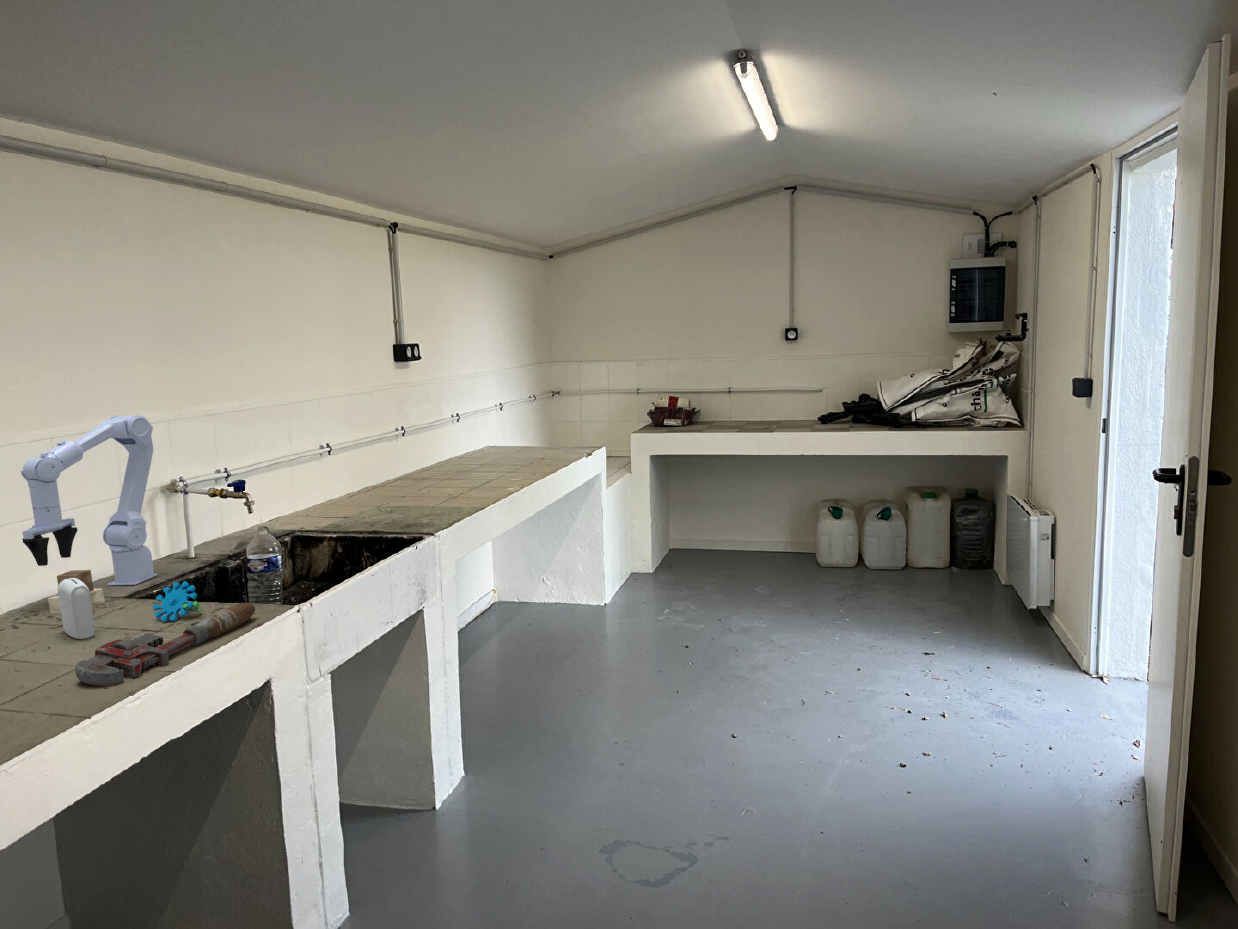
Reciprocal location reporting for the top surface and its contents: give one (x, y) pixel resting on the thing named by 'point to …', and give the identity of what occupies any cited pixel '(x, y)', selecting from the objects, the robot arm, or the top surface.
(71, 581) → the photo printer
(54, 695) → the top surface
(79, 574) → the walnut cube
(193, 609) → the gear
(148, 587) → the top surface
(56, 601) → the birch block
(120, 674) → the pipe wrench
